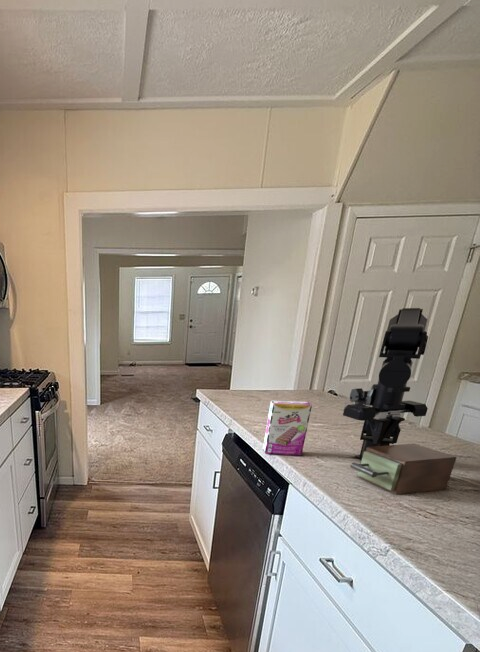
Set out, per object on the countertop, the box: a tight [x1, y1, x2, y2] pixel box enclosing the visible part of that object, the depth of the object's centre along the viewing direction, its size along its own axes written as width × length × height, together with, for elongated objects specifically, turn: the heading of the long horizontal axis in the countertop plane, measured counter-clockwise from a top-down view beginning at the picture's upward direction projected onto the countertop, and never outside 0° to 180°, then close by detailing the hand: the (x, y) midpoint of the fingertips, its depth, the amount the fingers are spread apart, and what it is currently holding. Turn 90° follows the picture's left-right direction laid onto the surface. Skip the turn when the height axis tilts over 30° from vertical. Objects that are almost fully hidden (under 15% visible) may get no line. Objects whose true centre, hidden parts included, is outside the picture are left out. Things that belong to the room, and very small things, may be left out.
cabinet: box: [359, 443, 458, 495], centre depth 103 cm, size 15×12×9 cm
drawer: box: [349, 451, 402, 490], centre depth 103 cm, size 18×10×7 cm, turn 100°
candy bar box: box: [262, 399, 313, 456], centre depth 126 cm, size 11×5×16 cm, turn 78°
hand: (376, 443), depth 102 cm, fingers closed
